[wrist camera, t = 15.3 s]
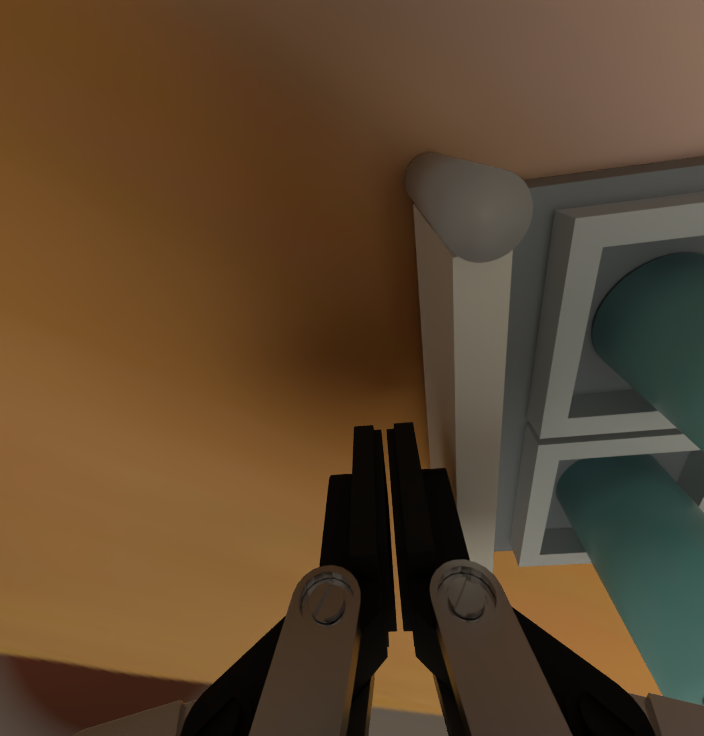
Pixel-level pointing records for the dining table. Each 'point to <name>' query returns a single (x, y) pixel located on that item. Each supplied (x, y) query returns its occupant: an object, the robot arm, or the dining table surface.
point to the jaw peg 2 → (645, 560)
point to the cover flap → (466, 323)
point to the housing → (584, 345)
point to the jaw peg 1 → (659, 337)
